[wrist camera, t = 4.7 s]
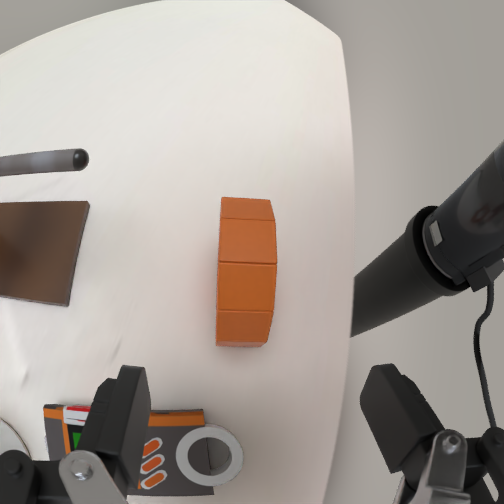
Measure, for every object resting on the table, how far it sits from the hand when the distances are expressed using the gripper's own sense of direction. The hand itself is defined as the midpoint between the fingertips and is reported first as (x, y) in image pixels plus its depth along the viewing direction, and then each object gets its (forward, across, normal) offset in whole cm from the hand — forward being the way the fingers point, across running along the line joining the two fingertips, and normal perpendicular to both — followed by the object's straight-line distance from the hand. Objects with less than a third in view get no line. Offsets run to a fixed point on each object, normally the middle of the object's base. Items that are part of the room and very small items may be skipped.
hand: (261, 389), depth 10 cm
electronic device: (+6, +7, +14) cm, 16 cm away
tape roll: (+15, 0, +4) cm, 15 cm away
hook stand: (+17, +18, +2) cm, 25 cm away
